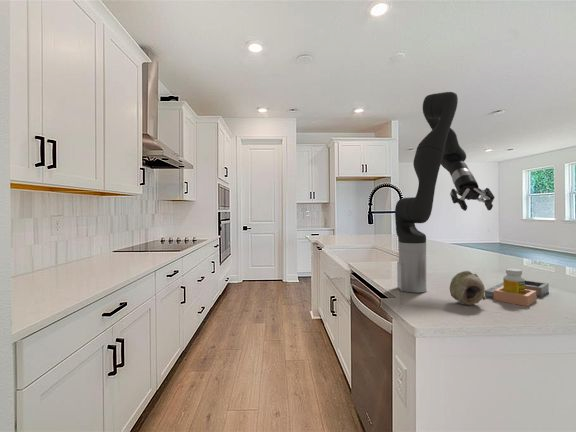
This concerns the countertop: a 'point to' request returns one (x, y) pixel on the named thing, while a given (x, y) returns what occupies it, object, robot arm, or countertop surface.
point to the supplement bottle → (514, 281)
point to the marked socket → (515, 296)
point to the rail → (529, 285)
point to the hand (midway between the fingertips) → (478, 209)
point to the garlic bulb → (467, 288)
